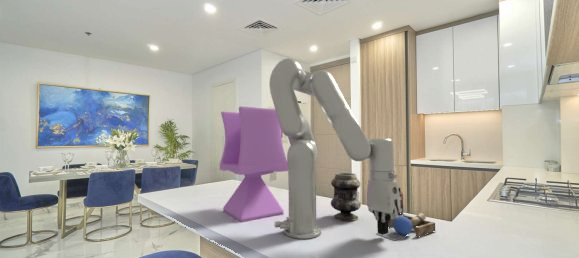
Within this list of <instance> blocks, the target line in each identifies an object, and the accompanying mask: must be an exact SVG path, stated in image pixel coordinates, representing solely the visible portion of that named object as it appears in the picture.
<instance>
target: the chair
mask: <svg viewBox="0 0 579 258" xmlns="http://www.w3.org/2000/svg"><path fill="white" fill-rule="evenodd" d="M220 114H221V118H222V119H221V120H222V124H223V127H224V136H225V137H224V147H223V152H222V156H221V159H220V162H219V170H220V171H223V172H224V171H228V172H232V173H234V174H236V175H239V176H244V178H243V179H242V181H241V182H240V183H239V185H238V187H237V188H236V189H235V191H234V192H233V194H232V195H231V196H230V198H229V199H228V200H227V202H226V203H225V204H224V206H223V210H222V211H223V213H225V214H227V215H228V216H230V217H232V218H233V219H235V220H237V221H238V222H240V223H246V222H250V221H251V222H252V221H254V220H255V221H256V220H261V219H266V218H271V217H277V216H282V215H284V214H285V213H284V209H283V207H282V206H281V205H280V203H279V202H278V200H277V199H276V198H275V196H274V194H273V193H272V191H271V190H270V188H269V187H268V186H267V184H266V182H265V181H264V180H263V179H262V176H265V175H268V174H273V173H275V172H276V173H281V172H288V163H287V156H286V154H285V150H284V146H283V139H282V137H283V136H282V130H281V128H280V124H279V120H278V117H277V114H276V111H275V108H264V107H251V106H239V107H238V112H237V111H236V112H235V111H221V113H220Z"/></svg>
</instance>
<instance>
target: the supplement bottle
mask: <svg viewBox="0 0 579 258" xmlns="http://www.w3.org/2000/svg"><path fill="white" fill-rule="evenodd" d="M398 189H399V195H400V212H398V216H400V215H401V214H402V215H404V193H403V192H402V191H401V187H400V186H398ZM400 213H401V214H400Z"/></svg>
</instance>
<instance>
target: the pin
mask: <svg viewBox="0 0 579 258" xmlns="http://www.w3.org/2000/svg"><path fill="white" fill-rule="evenodd" d="M413 217H414V218H412V219H411V220H410V221H411V223H412V229H413V228H415V226H416V225H418V224H419V223H420V222H422V221H423V220H426V215H425V214H424V213H423V212H419V213H418V214H417V215H415V216H413Z"/></svg>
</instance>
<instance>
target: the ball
mask: <svg viewBox="0 0 579 258" xmlns="http://www.w3.org/2000/svg"><path fill="white" fill-rule="evenodd" d="M392 228H393V230H395V231H396V232H397V233H398V234H401V235H407V234H408V235H410V233H411V232H412V231H413V228H412V223H411V221H410V220H409V219H408V218H407V217H404V216H400V215H398V218H395V219H394V221H393V227H392Z"/></svg>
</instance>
